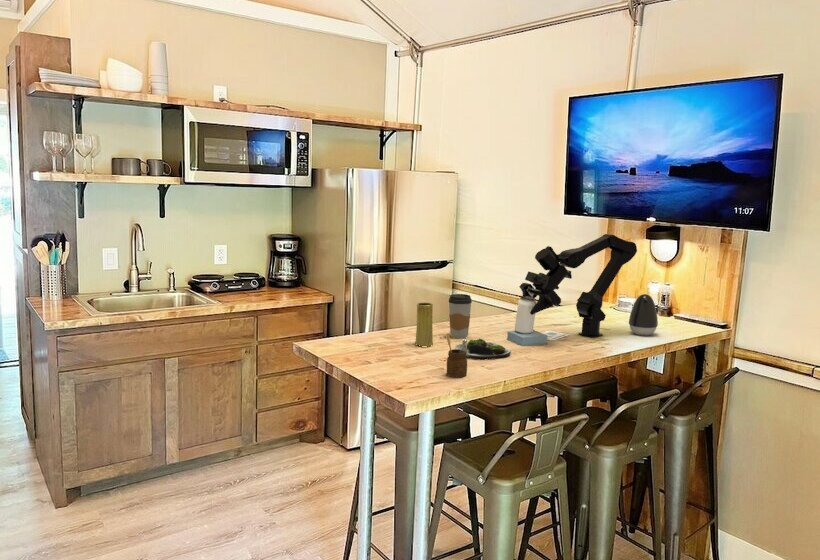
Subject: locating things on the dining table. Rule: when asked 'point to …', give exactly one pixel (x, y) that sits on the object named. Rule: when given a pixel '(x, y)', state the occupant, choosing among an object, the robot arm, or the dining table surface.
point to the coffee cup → (459, 315)
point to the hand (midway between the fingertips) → (524, 311)
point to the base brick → (527, 338)
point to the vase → (424, 324)
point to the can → (525, 315)
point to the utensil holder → (456, 361)
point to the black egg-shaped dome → (643, 316)
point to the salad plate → (483, 350)
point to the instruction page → (554, 335)
